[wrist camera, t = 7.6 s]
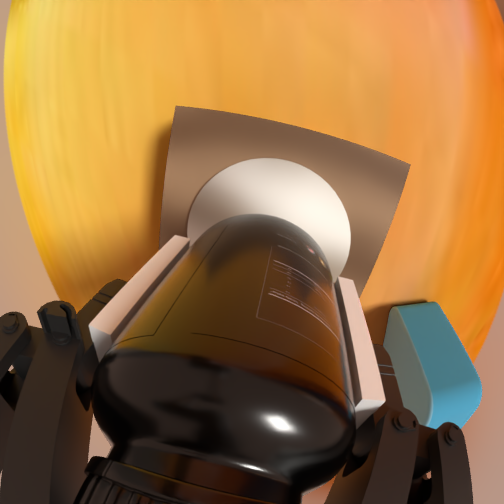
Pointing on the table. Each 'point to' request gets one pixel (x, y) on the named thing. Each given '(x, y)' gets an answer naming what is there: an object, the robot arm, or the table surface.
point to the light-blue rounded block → (431, 365)
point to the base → (280, 184)
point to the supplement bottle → (227, 377)
